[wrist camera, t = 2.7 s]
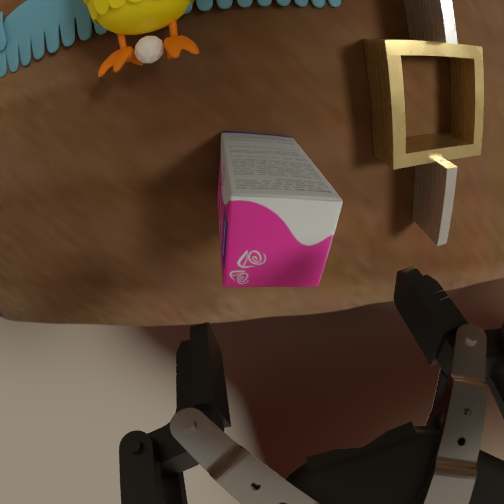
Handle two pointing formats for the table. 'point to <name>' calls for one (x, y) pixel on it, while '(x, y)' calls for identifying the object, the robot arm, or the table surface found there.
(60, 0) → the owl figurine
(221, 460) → the robot arm
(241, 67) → the table surface
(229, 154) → the supplement box
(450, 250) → the table surface
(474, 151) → the square frame with handle
